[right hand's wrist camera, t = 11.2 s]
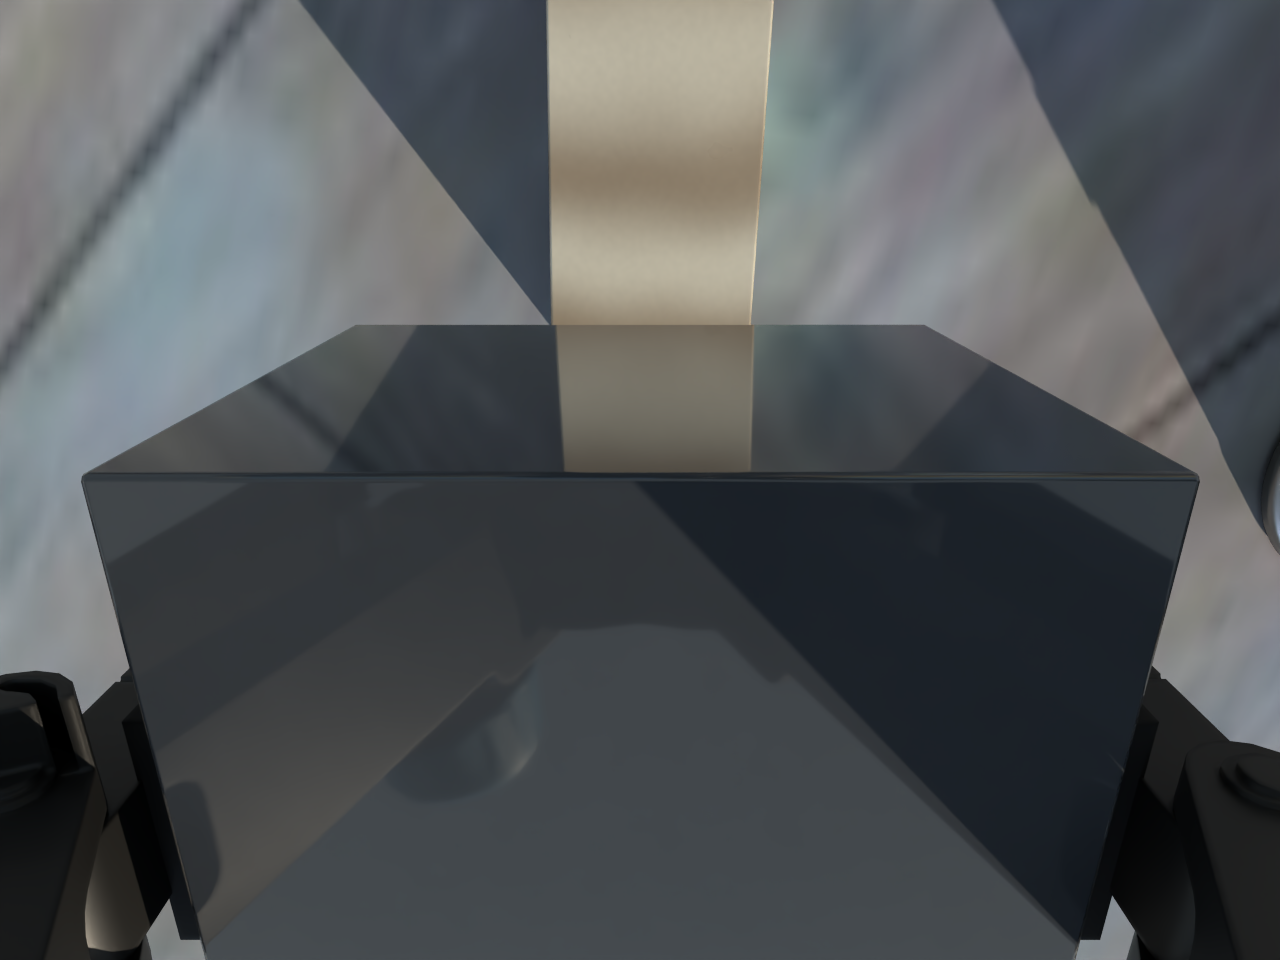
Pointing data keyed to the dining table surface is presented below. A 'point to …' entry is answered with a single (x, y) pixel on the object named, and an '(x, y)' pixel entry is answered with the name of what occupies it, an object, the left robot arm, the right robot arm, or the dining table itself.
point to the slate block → (640, 645)
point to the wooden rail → (655, 158)
